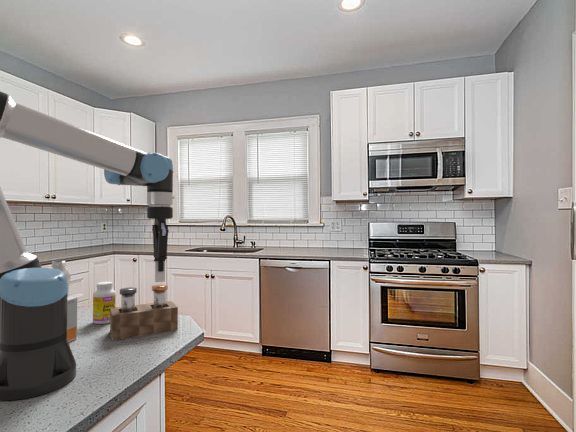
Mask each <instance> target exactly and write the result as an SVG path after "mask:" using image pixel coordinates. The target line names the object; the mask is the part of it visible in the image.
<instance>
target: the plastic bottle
mask: <svg viewBox="0 0 576 432" xmlns="http://www.w3.org/2000/svg"><path fill="white" fill-rule="evenodd" d="M66 267H67V265H66V260H63V259H62V260H52V261H51V268H52V269H58V270H60V271H62V272H64V273H65V275H66V277H67V283H68V292H67V297H69V289H70V285H71V284H70V283H71V274H70V272H69V271H68V270H67V269H66Z"/></svg>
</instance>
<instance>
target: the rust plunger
mask: <svg viewBox="0 0 576 432" xmlns="http://www.w3.org/2000/svg"><path fill="white" fill-rule="evenodd" d="M168 286H169V285H167V284H154V285H152V286H151V292H153V303H154V306H153V309H155V308H163V307H166V301H167V299H166V298H167V290H169V289H168Z"/></svg>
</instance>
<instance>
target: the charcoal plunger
mask: <svg viewBox="0 0 576 432" xmlns="http://www.w3.org/2000/svg"><path fill="white" fill-rule="evenodd" d="M137 291H138V289H137V287H122V288H120V289H119V295H121V307H122V311H121V313H124V312H131V311H135V304H136V301H135V300H136V298H135V297H136V294H137V293H138V292H137Z"/></svg>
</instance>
